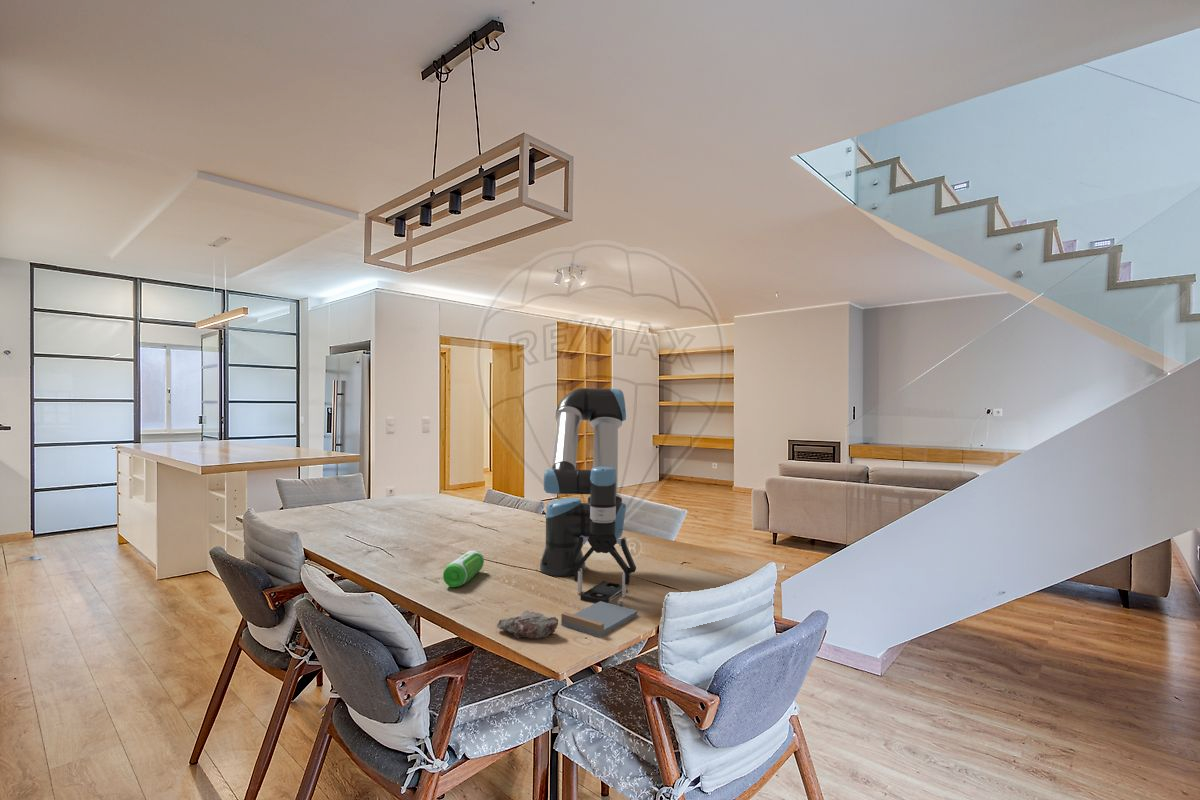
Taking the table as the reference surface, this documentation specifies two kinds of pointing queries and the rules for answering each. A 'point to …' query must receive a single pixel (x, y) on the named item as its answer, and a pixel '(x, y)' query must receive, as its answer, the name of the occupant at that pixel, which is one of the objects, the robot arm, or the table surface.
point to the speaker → (463, 568)
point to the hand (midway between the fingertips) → (601, 594)
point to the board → (598, 618)
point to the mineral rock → (529, 625)
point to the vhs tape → (602, 592)
